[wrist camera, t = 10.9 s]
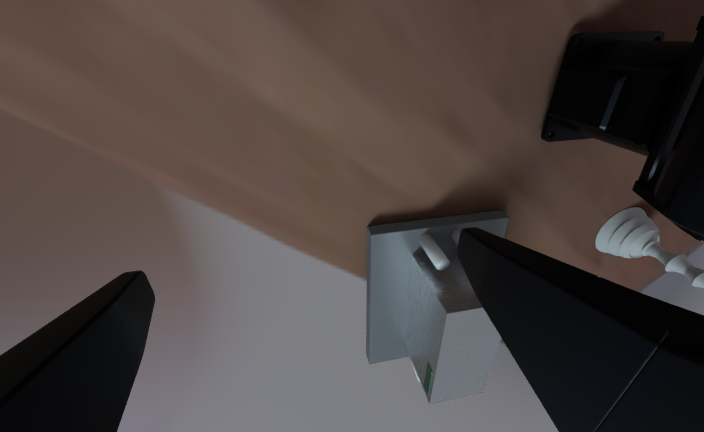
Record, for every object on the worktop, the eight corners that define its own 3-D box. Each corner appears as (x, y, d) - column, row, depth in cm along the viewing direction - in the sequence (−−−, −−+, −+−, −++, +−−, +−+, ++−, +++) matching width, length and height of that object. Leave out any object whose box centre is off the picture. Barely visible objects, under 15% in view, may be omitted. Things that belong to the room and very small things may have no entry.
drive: (466, 246, 25) (514, 301, 20) (448, 331, 30) (483, 392, 25) (411, 254, 24) (446, 313, 19) (403, 339, 29) (428, 404, 24)
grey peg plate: (500, 210, 25) (536, 239, 22) (468, 334, 33) (491, 370, 29) (367, 226, 23) (382, 261, 20) (366, 353, 31) (377, 394, 28)
